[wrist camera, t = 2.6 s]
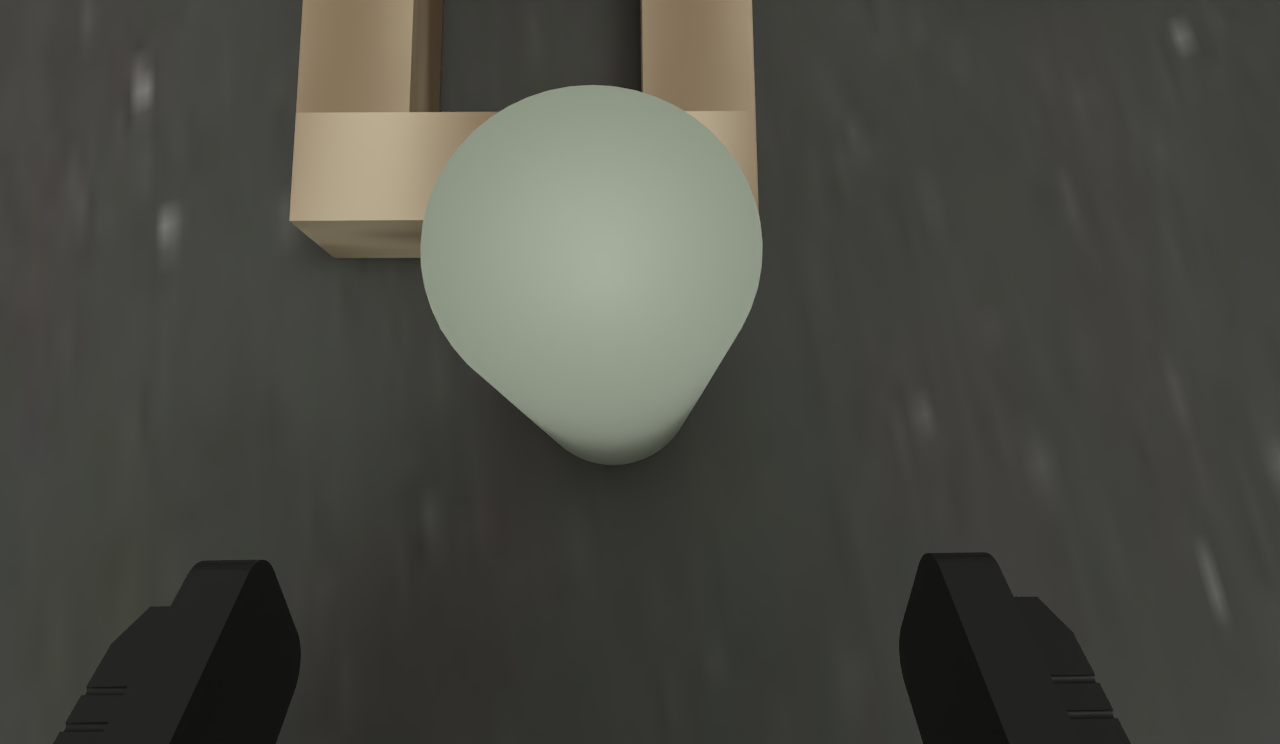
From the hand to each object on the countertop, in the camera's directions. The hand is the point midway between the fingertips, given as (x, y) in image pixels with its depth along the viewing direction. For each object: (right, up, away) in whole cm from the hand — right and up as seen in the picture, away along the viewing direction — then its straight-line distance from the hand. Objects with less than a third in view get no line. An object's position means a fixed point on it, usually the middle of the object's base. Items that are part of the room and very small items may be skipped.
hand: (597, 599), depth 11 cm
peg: (0, +2, +12) cm, 12 cm away
